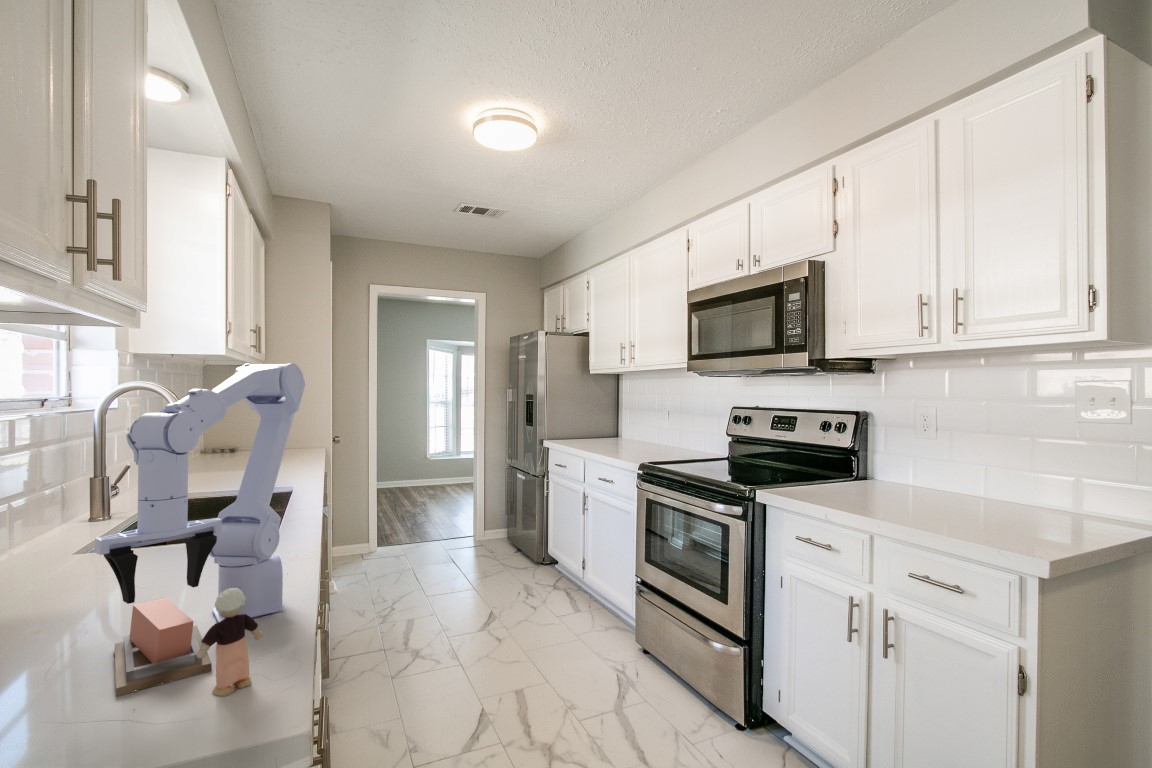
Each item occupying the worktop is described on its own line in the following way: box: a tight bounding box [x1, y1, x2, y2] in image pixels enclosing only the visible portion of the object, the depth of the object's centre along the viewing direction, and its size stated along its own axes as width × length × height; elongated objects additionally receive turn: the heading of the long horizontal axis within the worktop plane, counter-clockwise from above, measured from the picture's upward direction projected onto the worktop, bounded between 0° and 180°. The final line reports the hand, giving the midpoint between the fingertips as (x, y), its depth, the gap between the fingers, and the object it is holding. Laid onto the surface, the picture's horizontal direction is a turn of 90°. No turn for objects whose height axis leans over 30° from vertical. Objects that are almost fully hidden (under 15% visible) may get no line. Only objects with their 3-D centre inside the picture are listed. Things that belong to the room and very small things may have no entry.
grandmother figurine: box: [196, 588, 264, 697], centre depth 71 cm, size 8×4×13 cm, turn 159°
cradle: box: [114, 625, 213, 697], centre depth 78 cm, size 10×16×2 cm, turn 40°
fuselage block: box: [129, 597, 194, 663], centre depth 78 cm, size 4×10×5 cm, turn 55°
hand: (162, 593), depth 78 cm, fingers open, 7 cm apart
